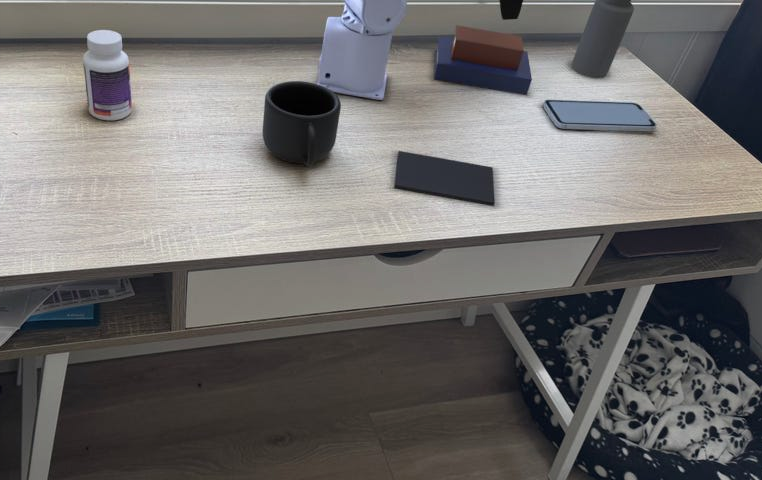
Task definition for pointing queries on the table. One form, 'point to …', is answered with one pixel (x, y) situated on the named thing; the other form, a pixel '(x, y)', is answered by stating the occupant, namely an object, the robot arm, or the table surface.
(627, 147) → the table surface
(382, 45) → the robot arm
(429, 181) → the rubber mat
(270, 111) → the mug
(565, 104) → the smartphone
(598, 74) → the bottle
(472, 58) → the block
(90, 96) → the pill bottle
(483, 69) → the hardcover book
